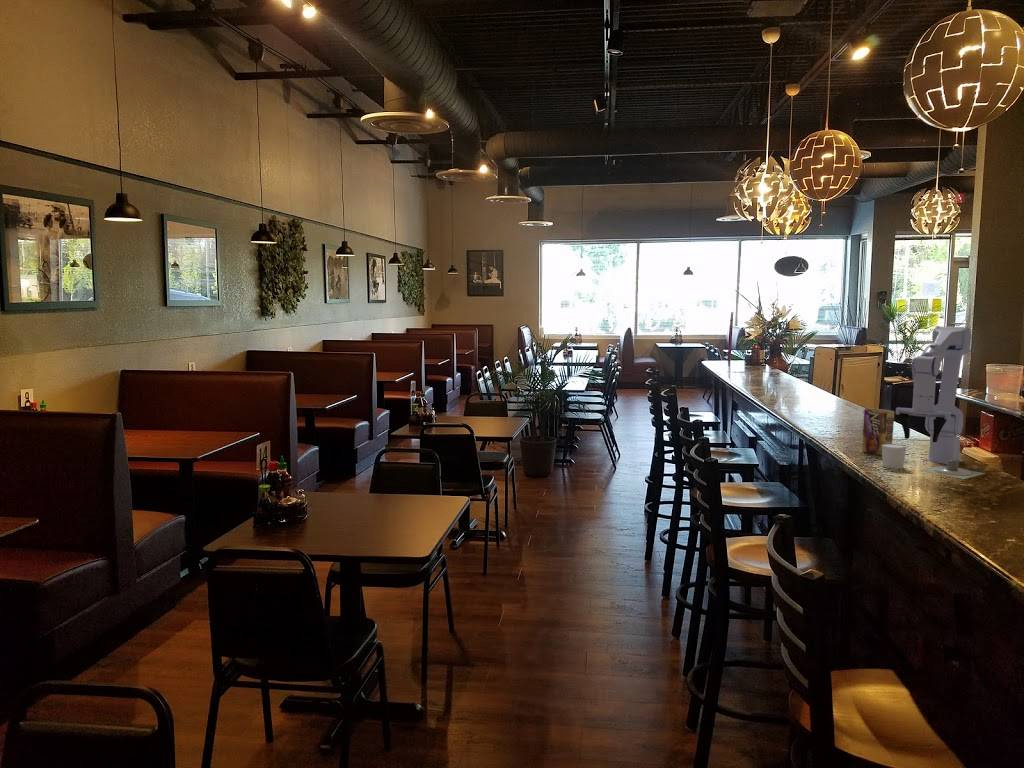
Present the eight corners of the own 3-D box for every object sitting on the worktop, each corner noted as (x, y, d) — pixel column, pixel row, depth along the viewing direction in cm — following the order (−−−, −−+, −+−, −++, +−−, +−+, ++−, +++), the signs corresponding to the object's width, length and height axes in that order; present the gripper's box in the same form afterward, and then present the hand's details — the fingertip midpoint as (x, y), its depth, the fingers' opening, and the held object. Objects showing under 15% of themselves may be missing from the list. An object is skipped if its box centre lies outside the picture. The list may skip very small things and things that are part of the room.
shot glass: (907, 470, 228) (909, 448, 227) (883, 469, 229) (885, 447, 229) (900, 465, 235) (902, 444, 234) (877, 464, 236) (879, 443, 235)
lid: (943, 466, 232) (944, 455, 231) (977, 473, 224) (978, 461, 223) (926, 470, 226) (927, 459, 226) (961, 477, 218) (962, 465, 218)
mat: (940, 466, 234) (940, 465, 234) (985, 474, 223) (985, 473, 223) (919, 471, 227) (919, 470, 227) (964, 480, 216) (964, 478, 216)
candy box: (892, 455, 251) (895, 410, 249) (883, 456, 249) (886, 411, 247) (869, 450, 259) (872, 407, 257) (861, 451, 257) (863, 408, 255)
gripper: (893, 394, 225) (890, 438, 226) (947, 399, 215) (944, 445, 216) (900, 392, 230) (898, 435, 231) (953, 397, 220) (950, 441, 221)
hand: (920, 440), depth 224 cm, fingers open, 7 cm apart
